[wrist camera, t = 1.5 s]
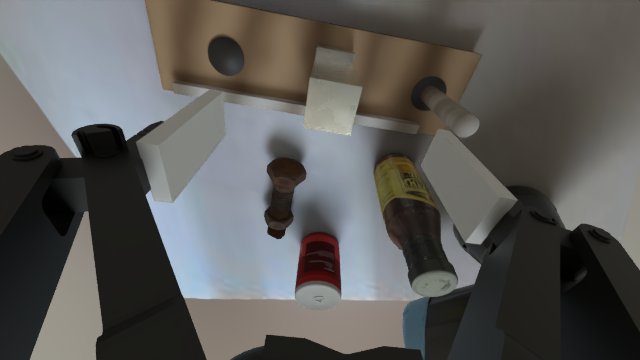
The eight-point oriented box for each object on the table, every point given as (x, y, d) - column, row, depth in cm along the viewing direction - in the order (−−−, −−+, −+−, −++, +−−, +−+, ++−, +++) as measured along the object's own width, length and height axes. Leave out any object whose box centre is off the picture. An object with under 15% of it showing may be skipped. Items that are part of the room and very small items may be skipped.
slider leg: (353, 51, 27) (366, 72, 18) (341, 105, 30) (347, 146, 21) (317, 44, 26) (311, 62, 17) (309, 99, 30) (301, 138, 21)
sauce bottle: (421, 167, 38) (491, 288, 21) (389, 191, 40) (429, 313, 24) (394, 141, 35) (451, 255, 19) (362, 168, 38) (387, 287, 22)
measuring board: (473, 52, 28) (549, 74, 19) (436, 130, 34) (479, 180, 24) (153, -12, 26) (46, -25, 16) (171, 85, 32) (100, 119, 22)
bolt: (275, 217, 47) (286, 152, 38) (296, 231, 46) (312, 167, 37) (254, 235, 43) (260, 167, 34) (276, 251, 42) (288, 184, 33)
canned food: (314, 261, 52) (311, 314, 43) (292, 239, 48) (284, 292, 39) (346, 250, 49) (350, 303, 40) (325, 225, 46) (325, 279, 37)
